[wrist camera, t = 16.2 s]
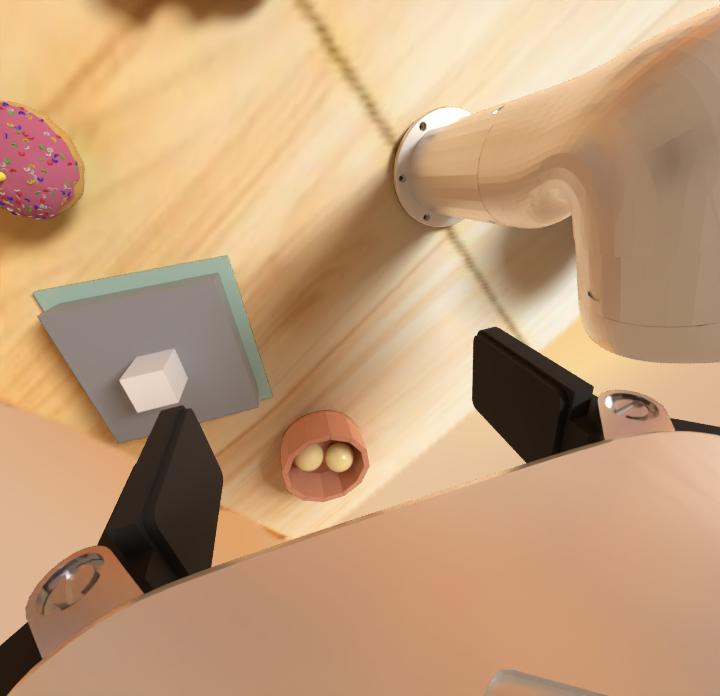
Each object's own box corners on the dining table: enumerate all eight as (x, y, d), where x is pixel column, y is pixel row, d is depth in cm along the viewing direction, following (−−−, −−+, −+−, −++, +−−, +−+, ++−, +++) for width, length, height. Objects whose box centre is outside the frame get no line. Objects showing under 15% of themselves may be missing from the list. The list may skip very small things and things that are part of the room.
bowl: (352, 401, 52) (362, 425, 47) (363, 459, 58) (373, 486, 53) (272, 423, 50) (273, 450, 45) (291, 480, 56) (294, 511, 51)
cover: (218, 272, 39) (206, 294, 31) (259, 390, 47) (257, 432, 39) (58, 303, 36) (2, 336, 28) (130, 423, 44) (100, 475, 36)
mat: (227, 255, 39) (227, 256, 38) (272, 395, 48) (272, 397, 48) (35, 291, 36) (32, 292, 35) (123, 433, 45) (121, 436, 45)
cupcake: (101, 224, 35) (31, 242, 24) (-6, 196, 32) (-138, 203, 21) (105, 132, 32) (27, 107, 21) (-13, 92, 29) (-170, 40, 18)
